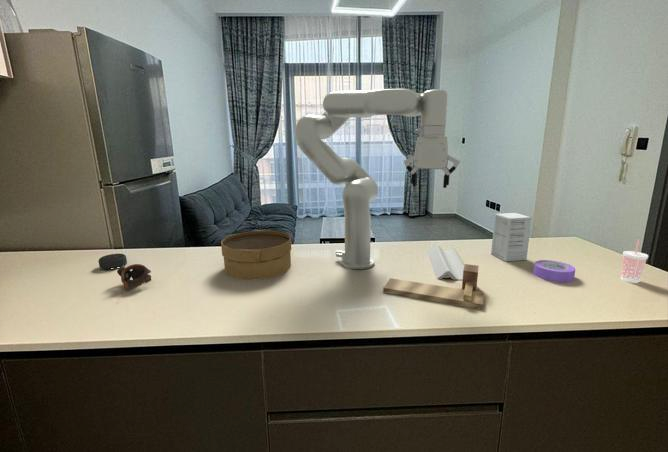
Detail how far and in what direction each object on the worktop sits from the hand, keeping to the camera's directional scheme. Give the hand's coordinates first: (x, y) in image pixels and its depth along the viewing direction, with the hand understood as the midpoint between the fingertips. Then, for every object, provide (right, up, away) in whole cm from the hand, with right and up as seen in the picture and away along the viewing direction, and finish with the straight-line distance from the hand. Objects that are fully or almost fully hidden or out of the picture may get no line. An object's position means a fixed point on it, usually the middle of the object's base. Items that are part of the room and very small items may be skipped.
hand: (429, 186), depth 110 cm
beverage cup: (+65, -31, 0) cm, 72 cm away
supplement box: (+37, -25, +23) cm, 51 cm away
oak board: (-2, -33, -9) cm, 35 cm away
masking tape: (+43, -30, +4) cm, 53 cm away
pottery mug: (-97, -33, +1) cm, 102 cm away
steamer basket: (-59, -29, +16) cm, 68 cm away
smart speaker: (-115, -29, +19) cm, 120 cm away
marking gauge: (+9, -34, -9) cm, 36 cm away
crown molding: (+11, -28, +17) cm, 34 cm away
